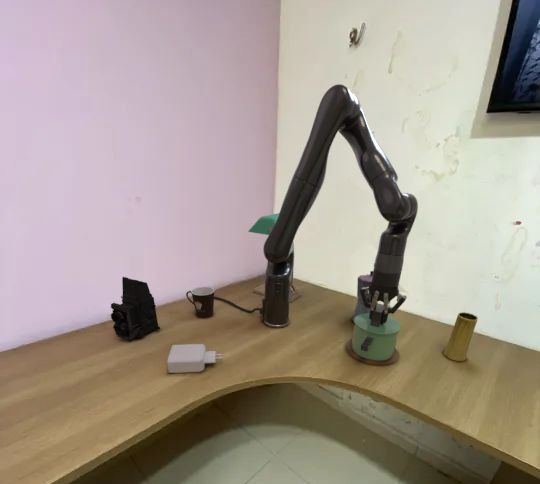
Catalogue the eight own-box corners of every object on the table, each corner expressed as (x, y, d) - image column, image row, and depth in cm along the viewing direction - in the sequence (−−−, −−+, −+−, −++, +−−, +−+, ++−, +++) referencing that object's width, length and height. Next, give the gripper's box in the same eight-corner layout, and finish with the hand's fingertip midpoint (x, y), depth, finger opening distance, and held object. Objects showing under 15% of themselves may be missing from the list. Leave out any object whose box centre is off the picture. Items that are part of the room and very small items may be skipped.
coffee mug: (220, 315, 121) (218, 291, 117) (200, 321, 116) (198, 297, 112) (205, 305, 129) (203, 283, 125) (186, 311, 124) (183, 287, 120)
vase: (463, 353, 100) (477, 313, 94) (467, 363, 95) (482, 322, 89) (442, 349, 102) (454, 310, 96) (445, 359, 97) (458, 318, 91)
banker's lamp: (286, 304, 131) (290, 220, 116) (246, 293, 142) (246, 214, 126) (303, 293, 143) (309, 215, 128) (266, 284, 154) (267, 210, 138)
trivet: (339, 354, 98) (339, 353, 97) (355, 334, 110) (355, 332, 110) (391, 372, 90) (392, 370, 90) (402, 347, 102) (403, 346, 102)
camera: (110, 339, 103) (96, 282, 94) (142, 323, 114) (132, 270, 105) (131, 347, 99) (119, 289, 90) (162, 329, 110) (154, 275, 101)
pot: (357, 334, 108) (364, 295, 102) (398, 346, 102) (408, 305, 95) (338, 360, 93) (344, 317, 87) (384, 376, 87) (394, 330, 81)
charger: (222, 372, 88) (168, 374, 87) (223, 354, 97) (174, 356, 95) (221, 358, 86) (166, 360, 85) (223, 341, 95) (173, 343, 93)
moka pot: (373, 314, 125) (382, 266, 116) (381, 332, 111) (392, 280, 102) (349, 312, 126) (356, 265, 117) (354, 331, 112) (363, 278, 103)
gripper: (416, 269, 88) (403, 323, 95) (367, 261, 94) (358, 312, 102) (411, 276, 82) (398, 333, 89) (359, 267, 88) (351, 320, 96)
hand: (377, 321), depth 95 cm, fingers closed on pot, 2 cm apart
